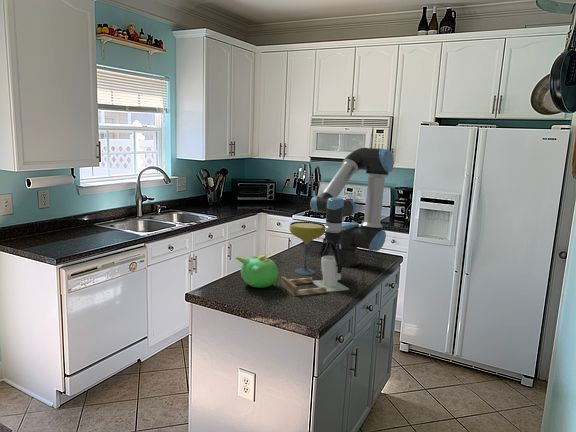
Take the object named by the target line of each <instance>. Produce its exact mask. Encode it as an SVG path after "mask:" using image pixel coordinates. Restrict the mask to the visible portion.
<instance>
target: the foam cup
mask: <svg viewBox="0 0 576 432" xmlns="http://www.w3.org/2000/svg"><path fill="white" fill-rule="evenodd" d="M320 261H321V262H320V264H321V263H322V271H321V272H322V280H323V285H324V286H327V287H335V286H336V285H337V282H338V281H339V280H335V270H336V265H337V264H336V261H335V257H334V256H333V255H329V254H328V255H327V256H323V257H322V260H320Z"/></svg>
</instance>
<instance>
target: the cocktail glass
mask: <svg viewBox="0 0 576 432" xmlns="http://www.w3.org/2000/svg"><path fill="white" fill-rule="evenodd" d="M325 225H326V224H323V223H320V222H315V221H294V222H291V223H289V231H290V233H291V234H292V235H293V236H294V237H296V238H298V239H299V240H301V241H302V243H304V244H305V253H304V266H303V268H297V269H295V270H294V274H297V275H300V276H313V275H315V274H316V271H315V270H313V269H312V268H311V269H310V268H307V254H308V253H307V251H308V244H310V243H311V241H314V240H316V239H318V238H320V237H322V236H324V235H325V231H326V226H325Z"/></svg>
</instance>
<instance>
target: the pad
mask: <svg viewBox="0 0 576 432" xmlns="http://www.w3.org/2000/svg"><path fill="white" fill-rule="evenodd" d="M312 284H313V285H315V286H316V287H317V288H320V287H326V288H327V292H326V293H333V292H341V291H349V290H350V288H349V287H347V286H345V285H344V284H342V283H340V282H338V281H337V285H336V286H335V287H327V286H324V285H323V279H317V280H312Z"/></svg>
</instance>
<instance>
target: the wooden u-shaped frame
mask: <svg viewBox="0 0 576 432" xmlns="http://www.w3.org/2000/svg"><path fill="white" fill-rule="evenodd" d="M312 281H313V277H304V278H303V277H301V278H292V279H288V278H287V277H285V276H284V275H283V276H280V286H281V287H282V288H284V289H285V291H287V292H289V293H290V294H292V295H293V296H294V297H297V296H305V295H307V296H308V295H316V294H325V293H328V292H327V288H326V287H320V288H319V287H313V288H303V289H299V286H298V285H301V284H311V283H312ZM312 284H313V283H312Z"/></svg>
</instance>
